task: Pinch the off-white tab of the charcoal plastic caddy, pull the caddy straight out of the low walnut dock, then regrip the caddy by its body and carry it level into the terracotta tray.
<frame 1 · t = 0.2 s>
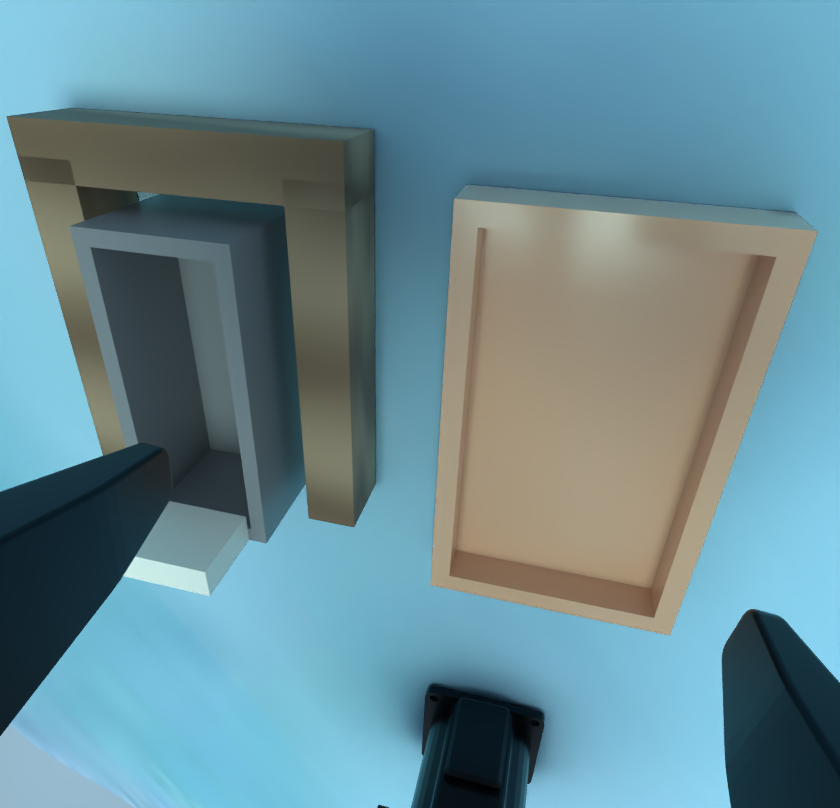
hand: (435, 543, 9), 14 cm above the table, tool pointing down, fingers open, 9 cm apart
tray: (579, 418, 24), on the table
caddy: (246, 345, 26), resting in dock
dock: (244, 347, 26), on the table
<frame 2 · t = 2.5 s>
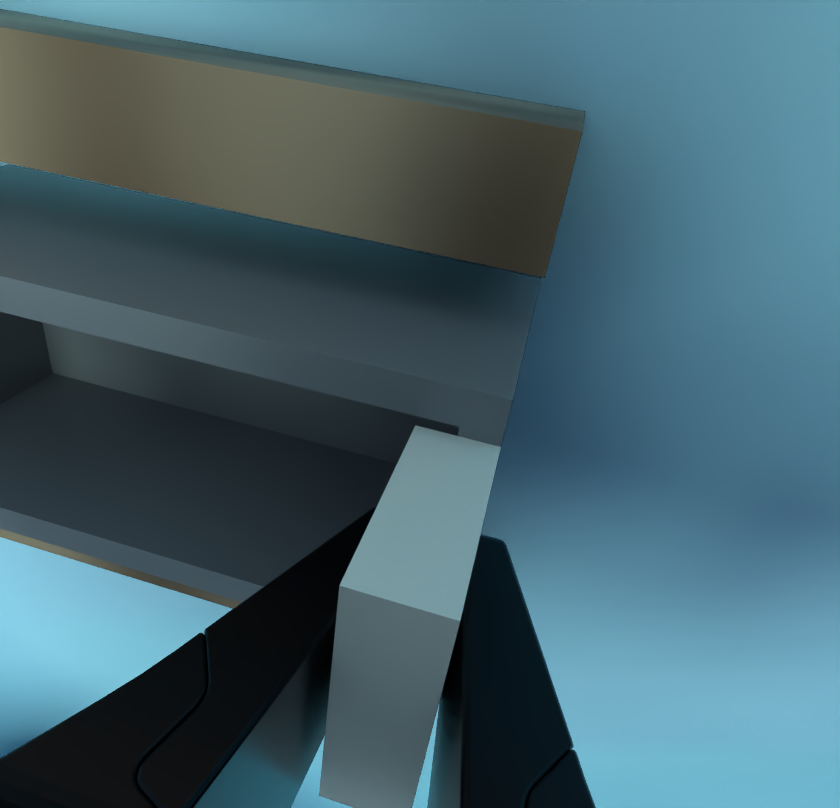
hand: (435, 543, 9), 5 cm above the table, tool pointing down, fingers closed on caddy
caddy: (259, 335, 14), resting in dock, touching gripper
dock: (259, 335, 14), on the table
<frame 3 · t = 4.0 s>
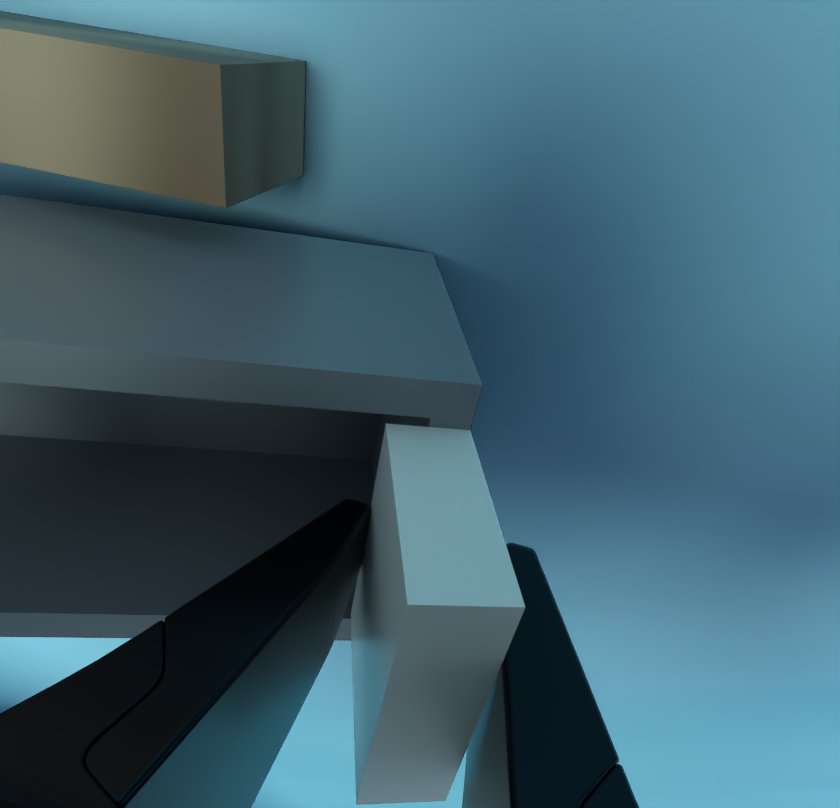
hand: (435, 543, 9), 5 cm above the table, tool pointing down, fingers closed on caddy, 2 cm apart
caddy: (123, 342, 13), point 2 cm above the table, tilted 21°, touching gripper
dock: (70, 290, 15), on the table
when the fingers open (5 cm above the table, at t = 5.7 s): caddy drops 3 cm, on the table.
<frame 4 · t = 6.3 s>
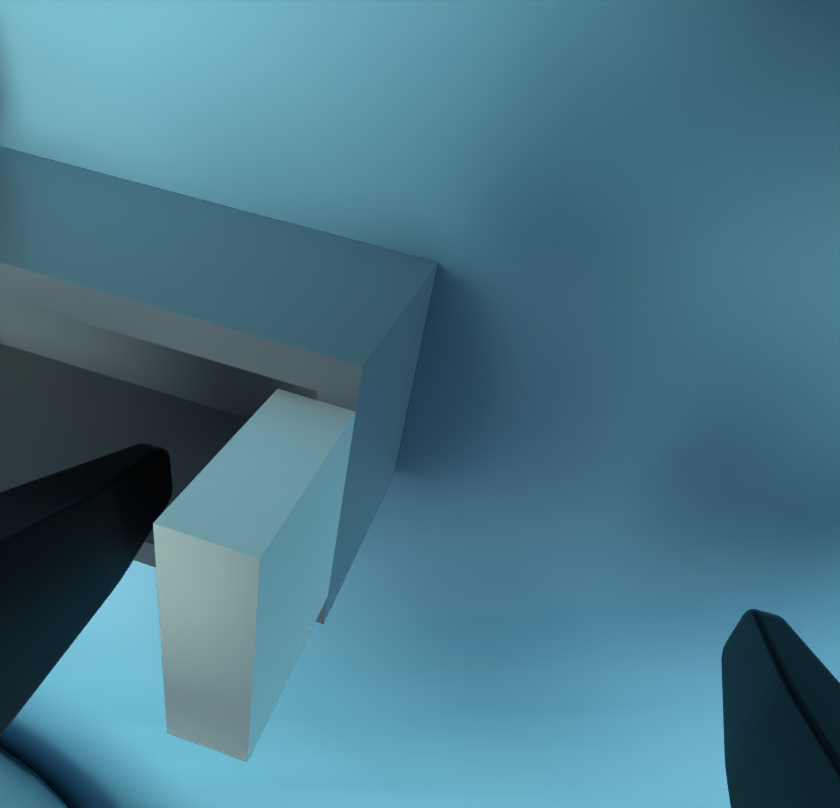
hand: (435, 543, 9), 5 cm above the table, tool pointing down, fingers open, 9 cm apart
caddy: (176, 306, 15), on the table
when the fingers open (3 cm above the table, at t = 14.3 s): caddy stays where it is, resting on tray.
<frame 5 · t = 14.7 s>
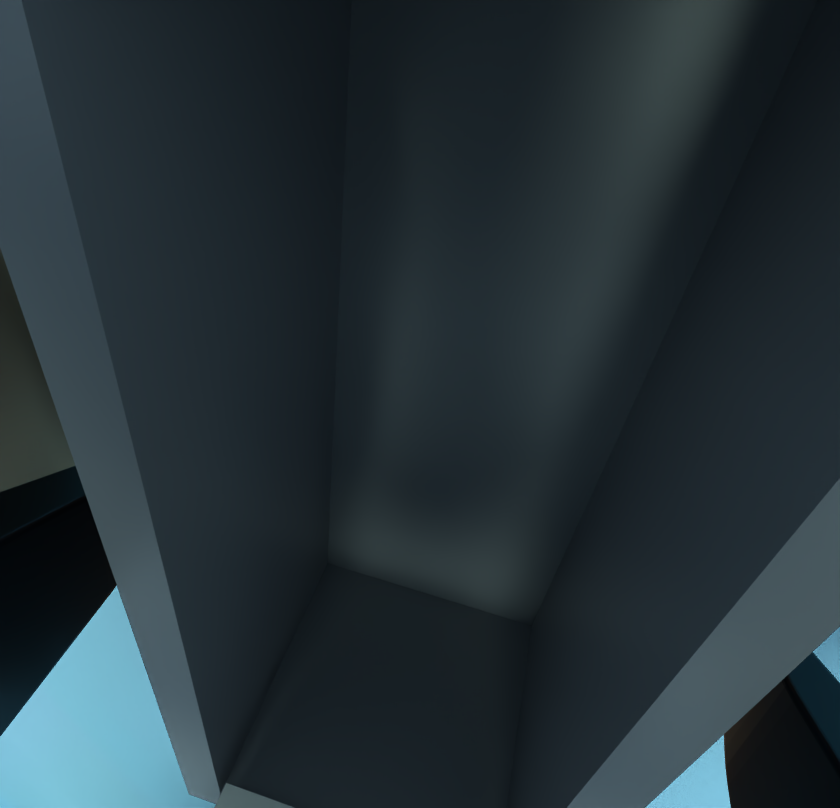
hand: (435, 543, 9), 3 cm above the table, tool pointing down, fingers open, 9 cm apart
caddy: (483, 364, 9), point 1 cm above the table, tilted 8°, touching tray
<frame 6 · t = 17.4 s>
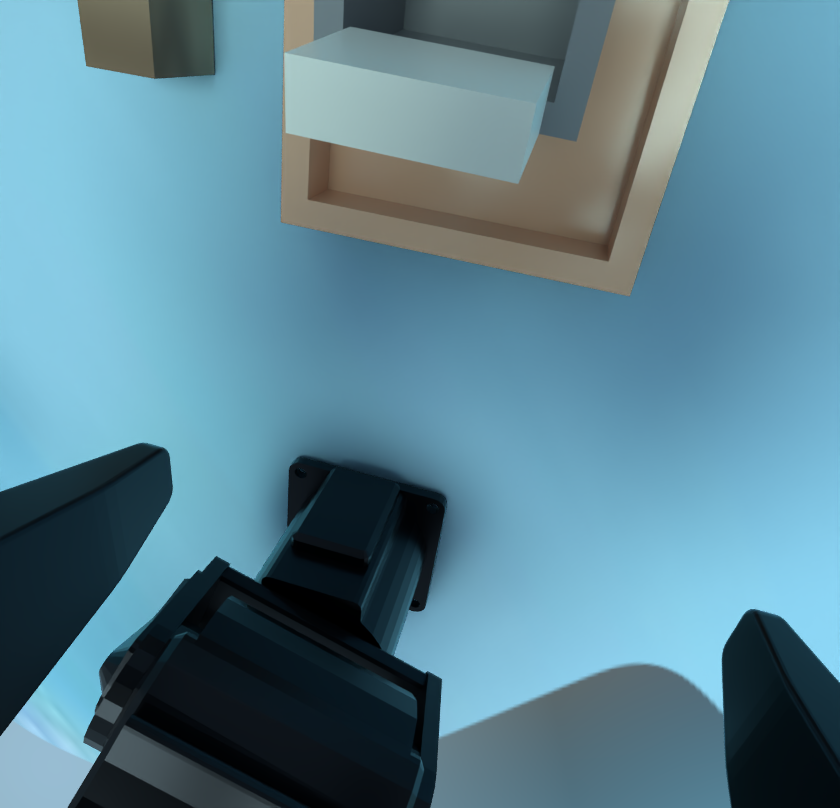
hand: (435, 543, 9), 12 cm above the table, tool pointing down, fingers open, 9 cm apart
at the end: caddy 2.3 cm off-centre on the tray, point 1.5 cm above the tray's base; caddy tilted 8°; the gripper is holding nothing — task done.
